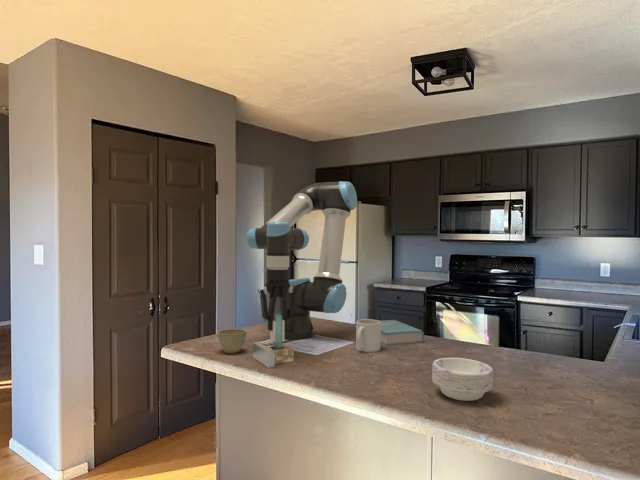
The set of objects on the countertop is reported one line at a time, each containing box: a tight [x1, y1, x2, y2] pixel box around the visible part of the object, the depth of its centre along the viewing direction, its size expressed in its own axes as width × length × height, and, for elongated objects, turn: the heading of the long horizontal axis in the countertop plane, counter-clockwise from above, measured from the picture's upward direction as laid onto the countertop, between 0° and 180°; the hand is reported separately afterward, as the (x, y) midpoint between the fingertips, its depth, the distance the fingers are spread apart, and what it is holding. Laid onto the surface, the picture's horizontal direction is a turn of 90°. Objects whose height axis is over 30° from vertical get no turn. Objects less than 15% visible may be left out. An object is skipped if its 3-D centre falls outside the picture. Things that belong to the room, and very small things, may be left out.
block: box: [266, 343, 295, 365], centre depth 151 cm, size 8×8×4 cm
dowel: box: [272, 313, 283, 350], centre depth 150 cm, size 3×3×12 cm
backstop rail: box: [252, 341, 276, 369], centre depth 148 cm, size 2×14×5 cm, turn 29°
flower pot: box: [217, 328, 247, 354], centre depth 161 cm, size 10×10×7 cm
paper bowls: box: [431, 357, 494, 402], centre depth 119 cm, size 15×15×8 cm
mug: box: [355, 318, 382, 353], centre depth 165 cm, size 11×10×10 cm
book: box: [379, 319, 425, 346], centre depth 185 cm, size 23×16×5 cm
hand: (277, 339), depth 150 cm, fingers closed on dowel, 2 cm apart
